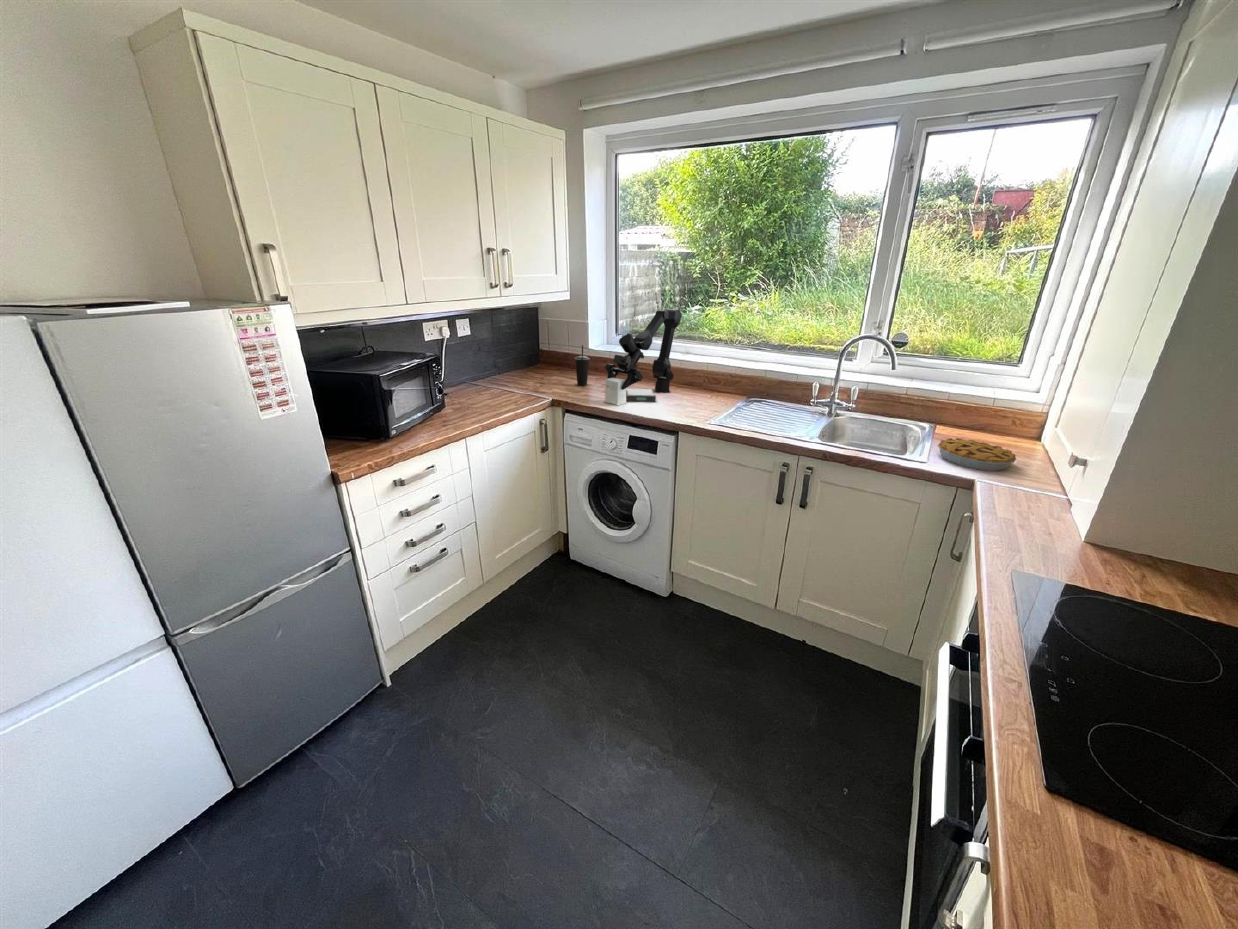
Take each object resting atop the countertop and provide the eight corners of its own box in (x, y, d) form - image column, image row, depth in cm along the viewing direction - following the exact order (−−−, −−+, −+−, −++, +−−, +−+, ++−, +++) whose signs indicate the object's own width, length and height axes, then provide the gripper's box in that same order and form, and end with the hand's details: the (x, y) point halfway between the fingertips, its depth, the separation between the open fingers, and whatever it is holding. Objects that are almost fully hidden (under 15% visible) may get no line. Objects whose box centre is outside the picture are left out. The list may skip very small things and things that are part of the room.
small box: (626, 403, 223) (626, 380, 219) (617, 405, 219) (618, 381, 215) (613, 400, 228) (613, 377, 224) (604, 402, 224) (605, 378, 220)
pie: (923, 456, 169) (927, 442, 168) (952, 445, 181) (956, 432, 180) (997, 477, 153) (1002, 462, 151) (1023, 464, 165) (1028, 450, 163)
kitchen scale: (651, 395, 239) (652, 388, 238) (655, 402, 227) (655, 395, 226) (624, 394, 238) (625, 388, 237) (627, 401, 226) (627, 394, 225)
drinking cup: (589, 387, 251) (589, 346, 244) (573, 386, 251) (573, 346, 244) (590, 383, 258) (590, 344, 251) (575, 383, 258) (575, 343, 251)
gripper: (607, 345, 223) (590, 372, 220) (640, 350, 212) (622, 379, 208) (618, 361, 232) (602, 387, 228) (650, 367, 221) (633, 395, 217)
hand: (614, 387), depth 220 cm, fingers open, 9 cm apart
